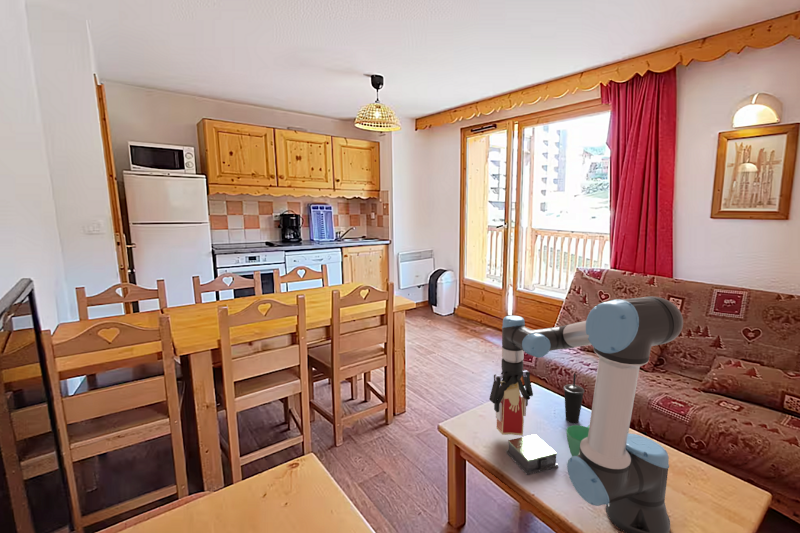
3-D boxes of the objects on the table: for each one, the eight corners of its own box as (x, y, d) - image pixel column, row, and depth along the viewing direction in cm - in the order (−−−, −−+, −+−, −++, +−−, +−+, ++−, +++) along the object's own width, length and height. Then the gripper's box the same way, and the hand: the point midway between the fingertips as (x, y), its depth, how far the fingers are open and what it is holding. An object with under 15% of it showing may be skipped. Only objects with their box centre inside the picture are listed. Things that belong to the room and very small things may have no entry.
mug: (589, 473, 124) (590, 445, 123) (559, 459, 131) (561, 432, 130) (606, 454, 134) (608, 428, 132) (578, 441, 141) (580, 416, 139)
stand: (558, 467, 127) (559, 454, 126) (527, 475, 124) (528, 461, 123) (534, 446, 139) (535, 433, 138) (506, 452, 135) (506, 439, 134)
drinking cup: (557, 417, 157) (560, 371, 154) (571, 413, 160) (573, 368, 157) (573, 427, 150) (575, 379, 147) (586, 422, 153) (589, 375, 150)
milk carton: (517, 421, 146) (520, 372, 142) (524, 436, 137) (527, 383, 133) (493, 420, 146) (496, 371, 143) (498, 434, 137) (501, 382, 134)
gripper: (532, 351, 144) (530, 406, 147) (479, 359, 137) (478, 416, 140) (545, 358, 137) (542, 416, 140) (490, 367, 130) (489, 427, 133)
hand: (510, 416), depth 140 cm, fingers closed on milk carton, 9 cm apart
